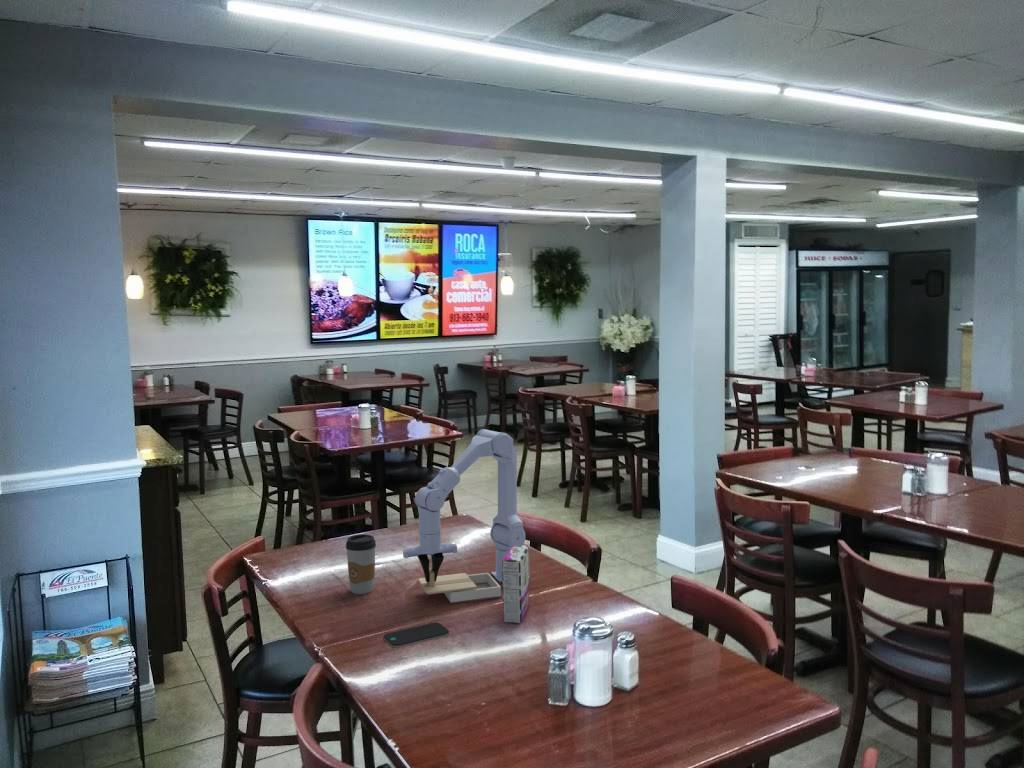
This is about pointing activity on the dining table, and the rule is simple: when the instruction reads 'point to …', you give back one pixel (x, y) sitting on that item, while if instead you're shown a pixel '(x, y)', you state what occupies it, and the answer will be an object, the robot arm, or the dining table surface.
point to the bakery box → (476, 590)
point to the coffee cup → (361, 563)
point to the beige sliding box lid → (447, 583)
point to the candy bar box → (515, 584)
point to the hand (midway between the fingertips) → (430, 580)
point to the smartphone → (416, 634)
